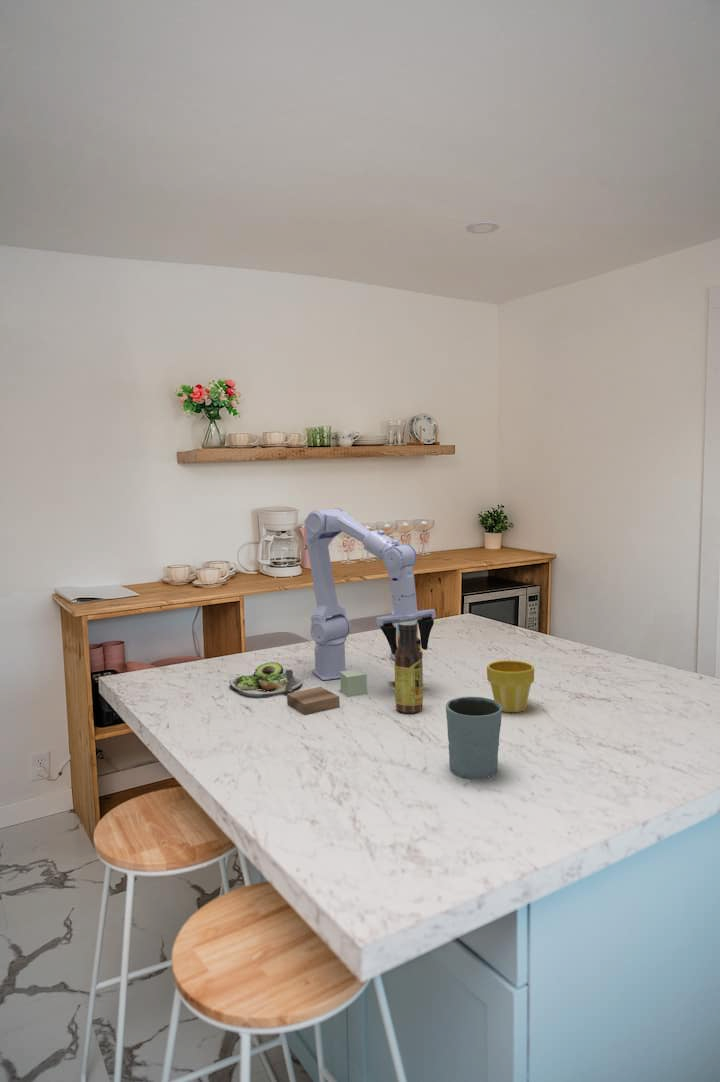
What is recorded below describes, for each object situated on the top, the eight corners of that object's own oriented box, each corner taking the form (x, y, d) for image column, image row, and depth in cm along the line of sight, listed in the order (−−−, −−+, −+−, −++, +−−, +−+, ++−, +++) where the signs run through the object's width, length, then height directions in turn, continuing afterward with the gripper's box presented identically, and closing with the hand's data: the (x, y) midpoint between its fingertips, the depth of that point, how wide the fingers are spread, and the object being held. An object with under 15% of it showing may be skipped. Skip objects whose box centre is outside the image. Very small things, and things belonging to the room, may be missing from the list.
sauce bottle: (421, 715, 161) (419, 627, 158) (393, 713, 162) (391, 626, 160) (424, 705, 167) (423, 620, 165) (397, 704, 168) (395, 620, 166)
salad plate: (319, 691, 180) (319, 673, 179) (253, 706, 171) (252, 687, 170) (286, 673, 196) (285, 657, 196) (223, 685, 187) (222, 668, 187)
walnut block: (287, 706, 170) (286, 693, 170) (321, 698, 175) (320, 686, 175) (304, 717, 163) (304, 704, 162) (339, 709, 167) (339, 696, 167)
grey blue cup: (465, 753, 139) (464, 692, 138) (512, 766, 133) (512, 703, 131) (435, 772, 131) (434, 707, 130) (485, 786, 125) (484, 719, 123)
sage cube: (340, 691, 179) (339, 671, 179) (359, 688, 181) (358, 669, 180) (347, 697, 174) (347, 677, 174) (366, 694, 176) (366, 674, 176)
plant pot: (496, 697, 171) (496, 657, 170) (540, 704, 165) (540, 662, 164) (480, 711, 162) (480, 668, 161) (525, 718, 157) (525, 674, 156)
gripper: (380, 600, 167) (386, 659, 168) (438, 592, 172) (444, 649, 172) (371, 598, 174) (377, 654, 175) (427, 590, 178) (432, 645, 179)
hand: (409, 651), depth 174 cm, fingers open, 7 cm apart
